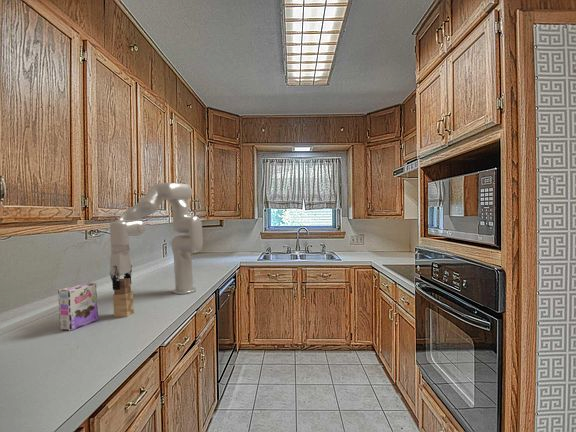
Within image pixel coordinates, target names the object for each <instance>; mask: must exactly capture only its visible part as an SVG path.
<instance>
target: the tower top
mask: <svg viewBox="0 0 576 432" xmlns="http://www.w3.org/2000/svg"><path fill="white" fill-rule="evenodd" d="M112 302H113V307H114V306H127V305H129V304H131V303H133V304H134V291H133V290H131V292H129V293H127V294H116V295H114V294H112Z"/></svg>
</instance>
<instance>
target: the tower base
mask: <svg viewBox="0 0 576 432" xmlns="http://www.w3.org/2000/svg"><path fill="white" fill-rule="evenodd" d="M134 313H135V309H134V302H133V303H131V304H129V305H127V306H114V305H113V317H114V318H128V317H130V316H131V315H133V314H134Z"/></svg>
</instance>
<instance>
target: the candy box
mask: <svg viewBox="0 0 576 432" xmlns="http://www.w3.org/2000/svg"><path fill="white" fill-rule="evenodd" d="M57 292H58V311H59V314H58V315H59V330H61V331H63V330H64V331H69V332H72V331H74V330H76V329H78V328H82V327H84V326H87V325H89V324H92V323H95V322H96V321H97V322H98V321H99V312H98V311H99V310H98V309H99V308H98V295H97V293H98V292H97V283H96V282H83V283H81V284H77V285H72V286H69V287H65V288H64V287H63V288H62V289H61V288H60V289H58V290H57Z"/></svg>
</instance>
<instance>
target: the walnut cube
mask: <svg viewBox="0 0 576 432" xmlns="http://www.w3.org/2000/svg"><path fill="white" fill-rule="evenodd" d="M119 280H120V290H113V291H114V294H113V295H116V294H127V293H129V292H131V291H132V290H131V285H132V284H131V285H130V278H127V279H124V278H119Z"/></svg>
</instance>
